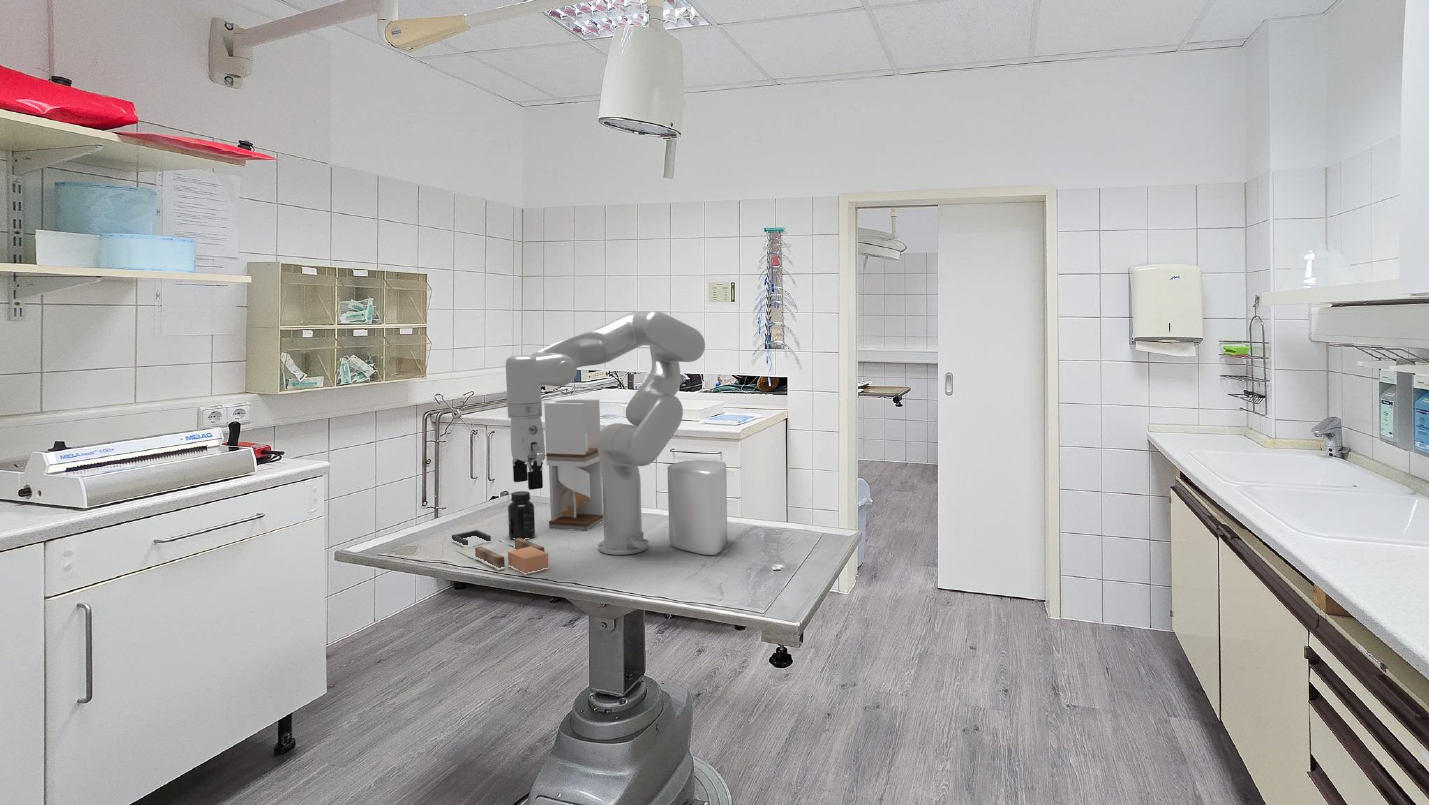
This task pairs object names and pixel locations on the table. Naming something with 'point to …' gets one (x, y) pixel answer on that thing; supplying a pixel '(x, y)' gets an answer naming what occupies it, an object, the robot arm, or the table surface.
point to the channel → (498, 559)
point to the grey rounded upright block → (697, 506)
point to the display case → (574, 463)
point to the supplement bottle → (521, 516)
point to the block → (528, 559)
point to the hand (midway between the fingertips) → (528, 485)
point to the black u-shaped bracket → (468, 534)
